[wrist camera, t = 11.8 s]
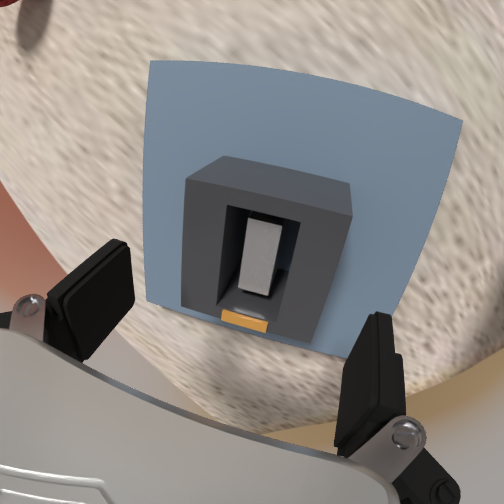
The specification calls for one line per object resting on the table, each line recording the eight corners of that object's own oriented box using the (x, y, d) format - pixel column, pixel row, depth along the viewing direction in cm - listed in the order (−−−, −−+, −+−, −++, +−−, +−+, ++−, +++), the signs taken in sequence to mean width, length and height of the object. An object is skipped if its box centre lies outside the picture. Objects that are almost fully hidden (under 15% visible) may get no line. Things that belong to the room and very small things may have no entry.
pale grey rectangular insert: (294, 198, 18) (282, 226, 14) (281, 258, 20) (267, 295, 16) (266, 192, 18) (248, 218, 15) (256, 252, 20) (238, 287, 17)
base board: (451, 117, 15) (463, 120, 13) (366, 344, 24) (367, 362, 22) (166, 62, 18) (150, 60, 16) (157, 287, 27) (146, 301, 25)
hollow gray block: (349, 183, 17) (352, 218, 12) (319, 289, 20) (310, 346, 16) (223, 155, 18) (183, 179, 13) (212, 261, 21) (179, 308, 17)
